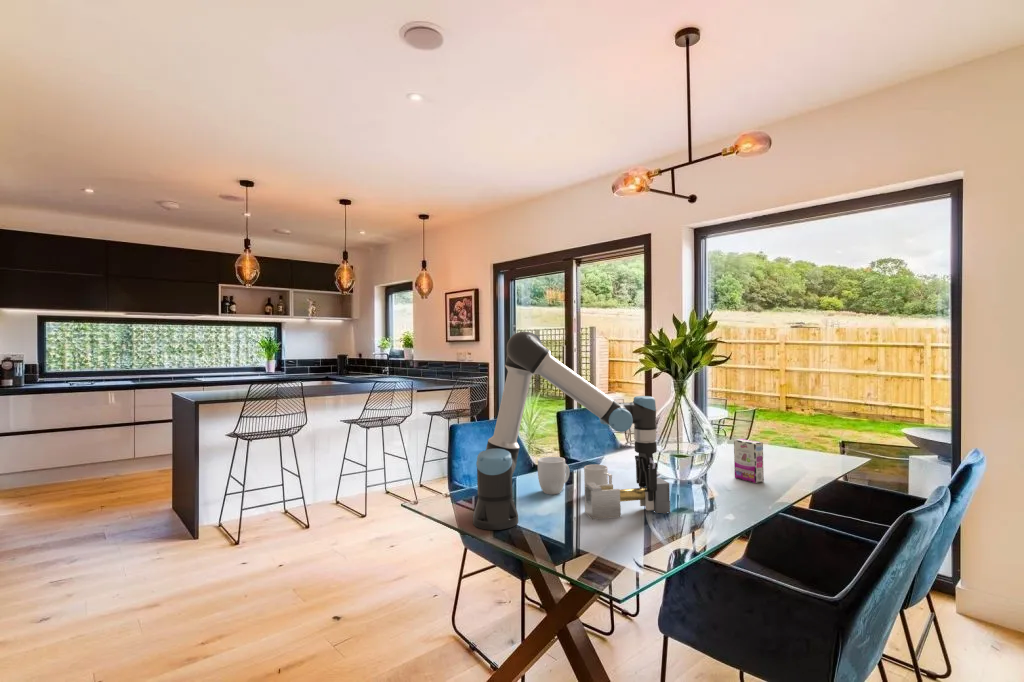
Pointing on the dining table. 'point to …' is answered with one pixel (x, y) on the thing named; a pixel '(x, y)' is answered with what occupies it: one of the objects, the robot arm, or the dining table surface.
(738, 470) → the candy bar box
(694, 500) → the dining table surface
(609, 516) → the grey tube holder
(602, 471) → the mug
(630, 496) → the tube
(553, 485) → the mug
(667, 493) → the socket
